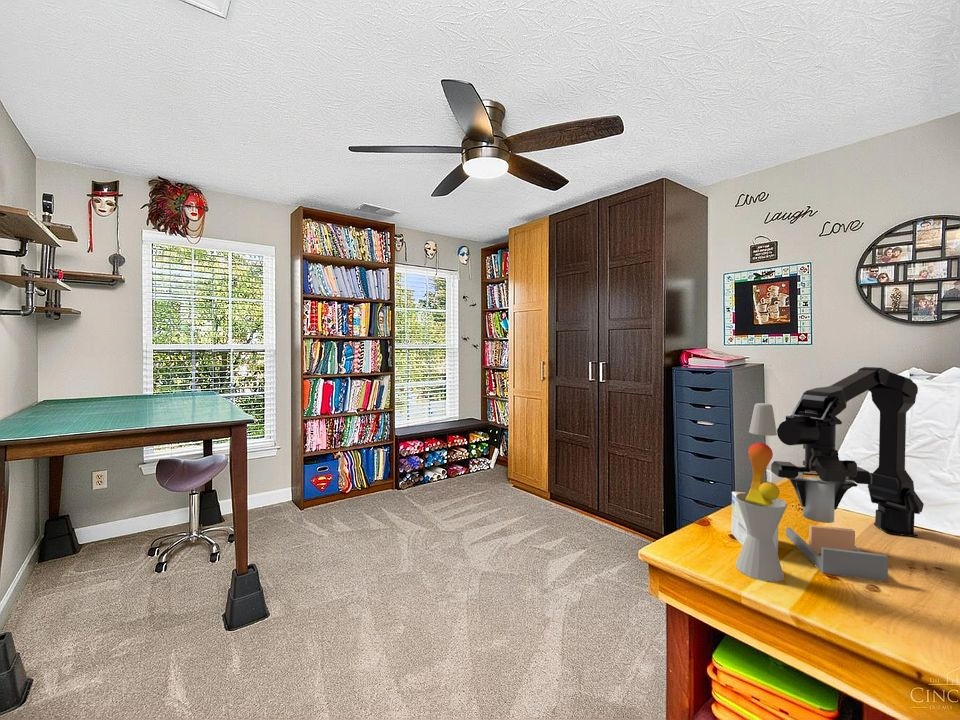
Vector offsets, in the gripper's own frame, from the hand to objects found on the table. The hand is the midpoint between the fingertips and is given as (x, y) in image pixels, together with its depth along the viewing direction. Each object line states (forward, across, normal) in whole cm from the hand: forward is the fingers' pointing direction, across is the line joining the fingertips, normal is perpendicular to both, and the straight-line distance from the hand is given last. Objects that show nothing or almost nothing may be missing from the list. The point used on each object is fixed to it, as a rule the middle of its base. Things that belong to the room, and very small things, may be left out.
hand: (818, 507), depth 106 cm
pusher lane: (+8, 0, -7) cm, 11 cm away
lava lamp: (+9, -18, -20) cm, 28 cm away
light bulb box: (+9, -15, -5) cm, 18 cm away
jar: (+2, 0, 0) cm, 2 cm away
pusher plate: (+8, 0, -7) cm, 11 cm away
